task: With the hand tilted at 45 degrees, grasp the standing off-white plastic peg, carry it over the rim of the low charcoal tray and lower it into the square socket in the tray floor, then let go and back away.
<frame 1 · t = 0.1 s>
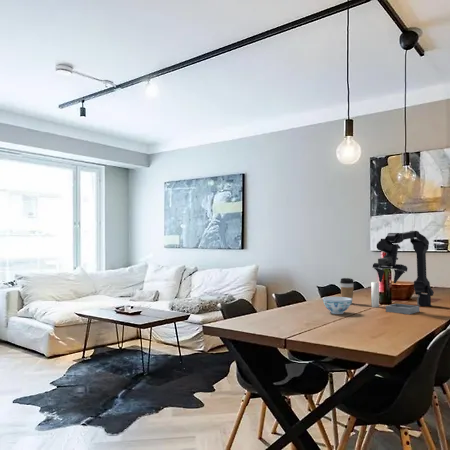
hand: (387, 282, 246), 15 cm above the table, tool pointing down, fingers open, 9 cm apart
coffee cup: (347, 303, 273), on the table
peg: (375, 306, 260), on the table
socket tray: (402, 311, 243), on the table
chinaware: (337, 313, 238), on the table
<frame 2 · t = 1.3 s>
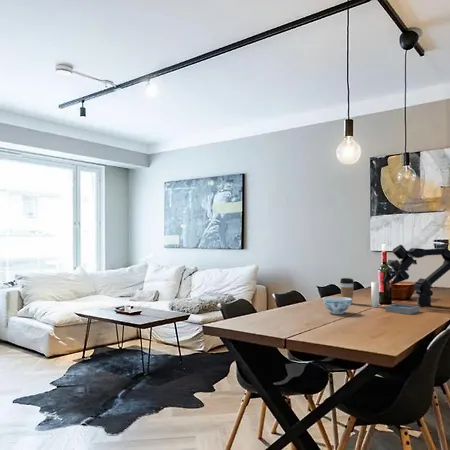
hand: (387, 283, 261), 13 cm above the table, tool tilted 45°, fingers open, 9 cm apart
nothing on the table moved.
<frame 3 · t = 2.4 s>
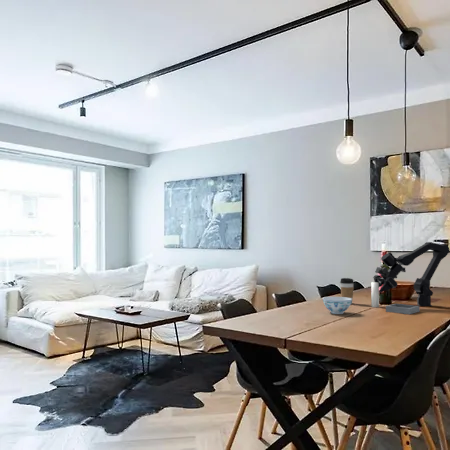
hand: (375, 291, 260), 9 cm above the table, tool tilted 45°, fingers open, 9 cm apart
nothing on the table moved.
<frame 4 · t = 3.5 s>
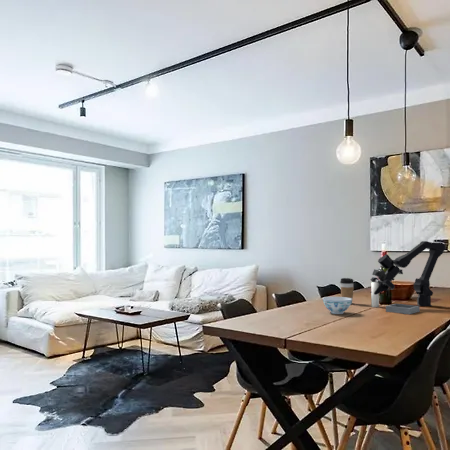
hand: (372, 293, 260), 8 cm above the table, tool tilted 45°, fingers closed on peg, 4 cm apart
peg: (375, 306, 260), on the table, touching gripper
everything else where it was.
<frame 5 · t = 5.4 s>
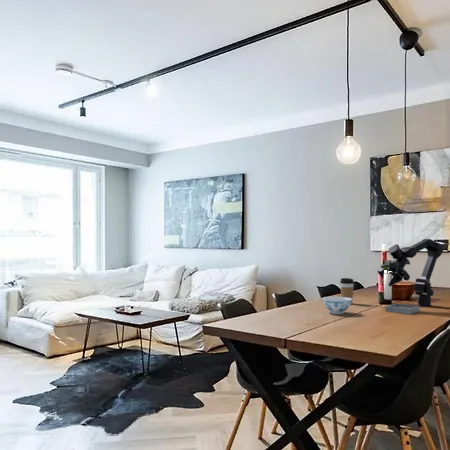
hand: (386, 285, 249), 13 cm above the table, tool tilted 45°, fingers closed on peg, 4 cm apart
peg: (387, 298, 250), point 6 cm above the table, touching gripper
everything else where it was.
when the fingers open (8 cm above the table, at t = 7.6 s): peg stays where it is, resting in socket tray.
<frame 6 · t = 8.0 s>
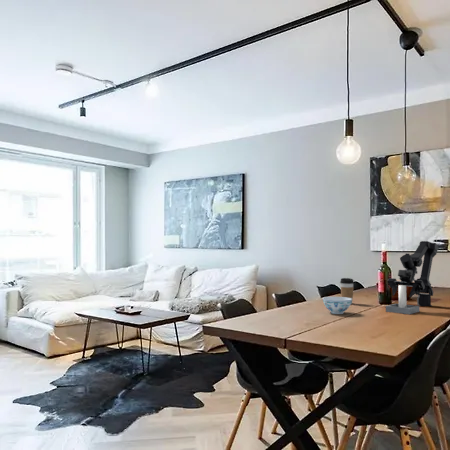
hand: (401, 295, 242), 9 cm above the table, tool tilted 45°, fingers open, 9 cm apart
peg: (402, 311, 243), resting in socket tray
everything else where it was.
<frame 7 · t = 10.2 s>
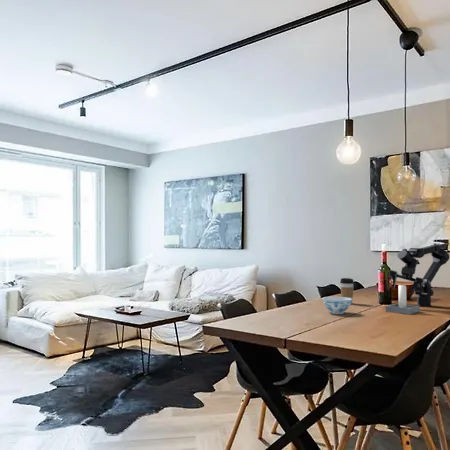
hand: (401, 291, 253), 10 cm above the table, tool tilted 30°, fingers open, 9 cm apart
nothing on the table moved.
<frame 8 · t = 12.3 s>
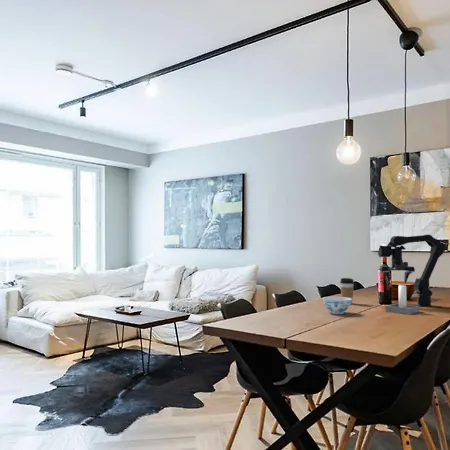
hand: (397, 283, 264), 13 cm above the table, tool pointing down, fingers open, 9 cm apart
nothing on the table moved.
at the end: peg 0.0 cm off-centre on the socket tray, point 0.0 cm above the socket tray's base; peg tilted 0°; the gripper is holding nothing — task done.
